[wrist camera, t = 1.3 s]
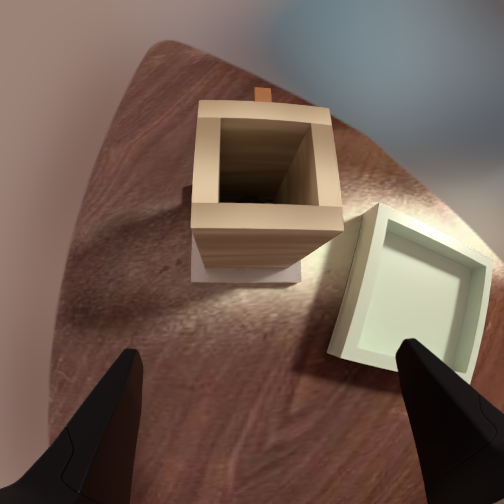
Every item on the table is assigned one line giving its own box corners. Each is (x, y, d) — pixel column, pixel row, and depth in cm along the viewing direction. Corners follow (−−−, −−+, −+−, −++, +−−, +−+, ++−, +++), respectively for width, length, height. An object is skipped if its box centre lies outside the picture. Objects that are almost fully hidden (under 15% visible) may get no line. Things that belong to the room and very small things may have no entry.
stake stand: (297, 282, 24) (314, 276, 19) (192, 283, 23) (185, 276, 19) (293, 185, 25) (307, 160, 21) (195, 182, 24) (191, 156, 20)
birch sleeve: (287, 268, 23) (344, 230, 12) (204, 268, 22) (190, 227, 12) (283, 173, 24) (324, 84, 14) (207, 170, 24) (202, 75, 13)
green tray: (449, 381, 23) (469, 385, 20) (326, 352, 23) (340, 357, 20) (473, 264, 26) (493, 259, 23) (363, 213, 25) (379, 202, 23)
